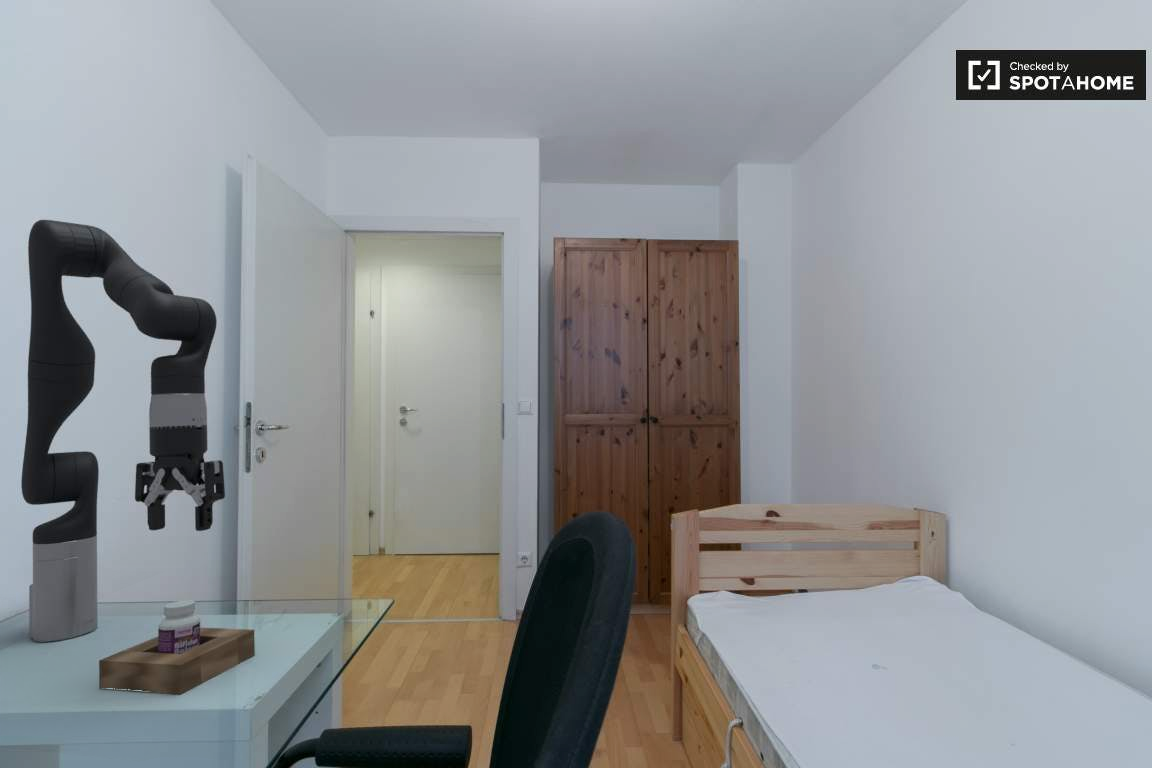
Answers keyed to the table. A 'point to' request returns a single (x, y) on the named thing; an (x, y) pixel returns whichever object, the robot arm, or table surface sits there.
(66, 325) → the robot arm
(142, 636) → the table surface
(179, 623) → the pill bottle
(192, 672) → the well block
